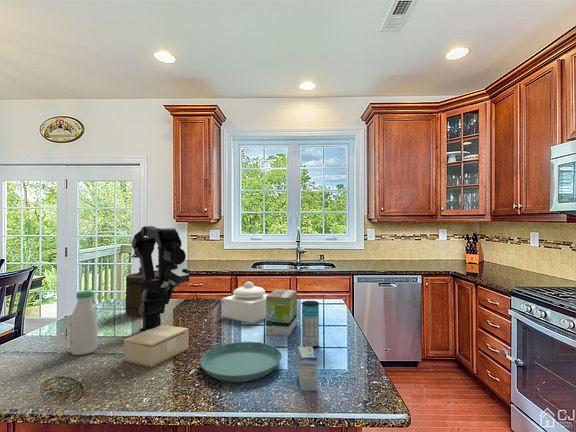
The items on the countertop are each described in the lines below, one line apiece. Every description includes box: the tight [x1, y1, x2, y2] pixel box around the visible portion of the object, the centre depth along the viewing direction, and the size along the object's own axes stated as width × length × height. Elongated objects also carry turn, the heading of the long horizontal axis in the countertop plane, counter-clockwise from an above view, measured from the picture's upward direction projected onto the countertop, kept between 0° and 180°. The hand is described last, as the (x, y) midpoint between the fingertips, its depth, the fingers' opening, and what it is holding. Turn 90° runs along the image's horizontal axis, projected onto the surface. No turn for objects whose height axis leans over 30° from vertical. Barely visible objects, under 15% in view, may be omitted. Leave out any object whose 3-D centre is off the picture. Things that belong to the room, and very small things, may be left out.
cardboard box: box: [123, 330, 190, 368], centre depth 110 cm, size 12×16×6 cm
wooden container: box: [124, 266, 159, 317], centre depth 161 cm, size 15×15×22 cm
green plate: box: [200, 341, 282, 383], centre depth 101 cm, size 24×24×3 cm
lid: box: [123, 324, 189, 346], centre depth 110 cm, size 12×16×1 cm
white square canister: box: [221, 280, 269, 325], centre depth 155 cm, size 18×18×16 cm
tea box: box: [264, 288, 298, 336], centre depth 136 cm, size 15×10×15 cm, turn 168°
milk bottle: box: [70, 290, 98, 356], centre depth 114 cm, size 8×8×20 cm
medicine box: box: [296, 346, 318, 392], centre depth 90 cm, size 8×4×9 cm, turn 5°
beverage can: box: [301, 300, 320, 349], centre depth 118 cm, size 6×6×15 cm
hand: (166, 304), depth 125 cm, fingers closed
